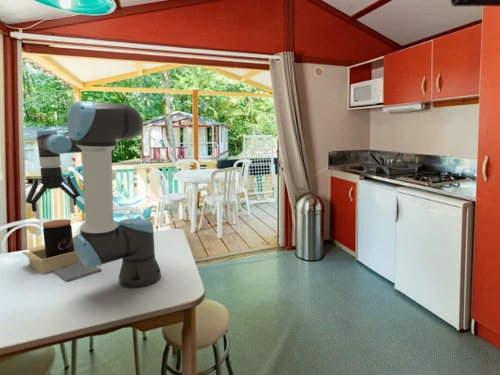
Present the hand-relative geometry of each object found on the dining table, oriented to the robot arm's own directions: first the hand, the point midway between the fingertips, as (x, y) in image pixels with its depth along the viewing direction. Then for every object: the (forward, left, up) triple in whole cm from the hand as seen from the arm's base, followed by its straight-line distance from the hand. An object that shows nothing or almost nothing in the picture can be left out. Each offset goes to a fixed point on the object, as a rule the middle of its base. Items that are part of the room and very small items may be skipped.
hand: (55, 215), depth 138 cm
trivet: (-18, 0, -21) cm, 28 cm away
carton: (0, 0, -21) cm, 21 cm away
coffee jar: (0, 0, -21) cm, 21 cm away
